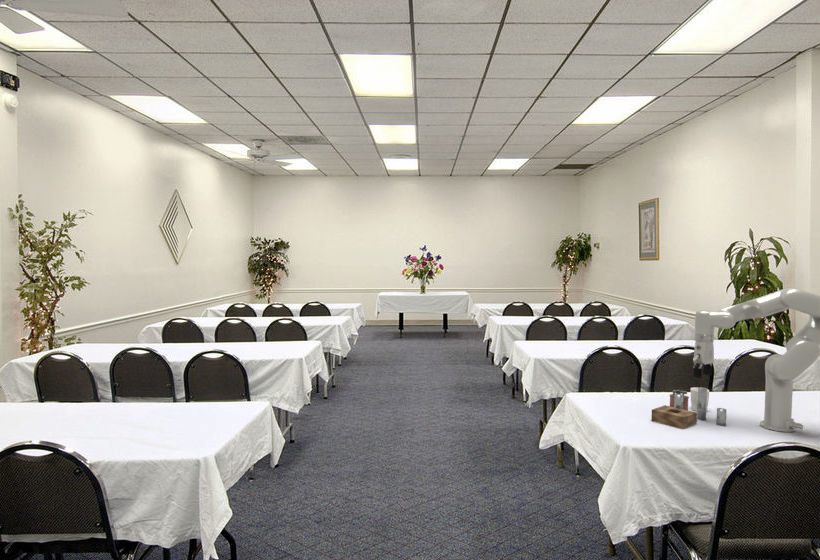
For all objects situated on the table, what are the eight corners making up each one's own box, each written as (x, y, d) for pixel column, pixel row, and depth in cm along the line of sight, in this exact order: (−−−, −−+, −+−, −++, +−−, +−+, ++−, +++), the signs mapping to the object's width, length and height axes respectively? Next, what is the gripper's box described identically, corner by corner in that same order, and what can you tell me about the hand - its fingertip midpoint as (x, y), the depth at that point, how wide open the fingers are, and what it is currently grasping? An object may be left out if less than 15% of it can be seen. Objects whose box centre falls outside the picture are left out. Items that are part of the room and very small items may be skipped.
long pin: (707, 419, 234) (708, 388, 233) (703, 420, 232) (704, 389, 231) (699, 417, 237) (700, 386, 236) (695, 418, 234) (696, 388, 234)
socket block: (696, 423, 227) (696, 412, 227) (683, 429, 219) (684, 417, 219) (664, 416, 238) (665, 405, 238) (651, 420, 231) (651, 409, 230)
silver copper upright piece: (669, 410, 246) (669, 390, 246) (669, 409, 249) (669, 388, 249) (688, 413, 243) (689, 392, 242) (688, 411, 246) (688, 390, 245)
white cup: (707, 413, 243) (708, 392, 242) (688, 410, 247) (689, 389, 247) (709, 409, 249) (710, 389, 248) (691, 406, 254) (692, 386, 253)
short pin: (727, 425, 225) (727, 409, 225) (723, 426, 223) (724, 410, 223) (718, 423, 228) (719, 407, 228) (714, 424, 226) (715, 408, 226)
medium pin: (684, 416, 237) (684, 395, 237) (680, 418, 235) (681, 396, 234) (676, 414, 240) (676, 393, 240) (672, 416, 238) (673, 394, 237)
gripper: (704, 340, 224) (702, 379, 225) (721, 337, 235) (719, 375, 236) (686, 338, 230) (684, 376, 231) (703, 335, 241) (702, 372, 242)
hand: (702, 375), depth 233 cm, fingers open, 9 cm apart
